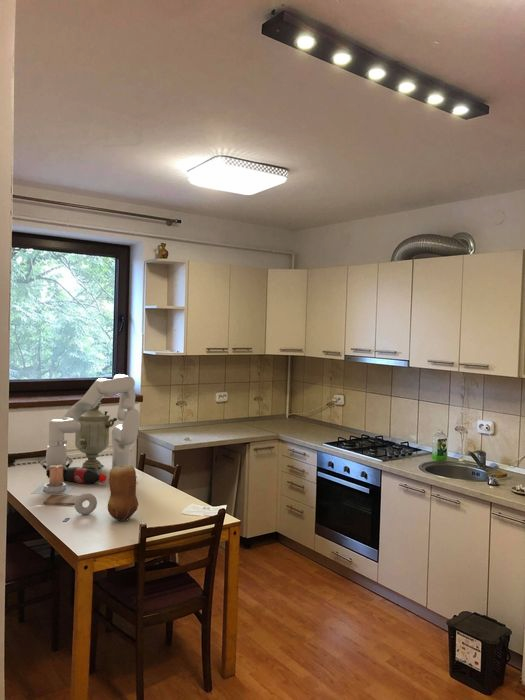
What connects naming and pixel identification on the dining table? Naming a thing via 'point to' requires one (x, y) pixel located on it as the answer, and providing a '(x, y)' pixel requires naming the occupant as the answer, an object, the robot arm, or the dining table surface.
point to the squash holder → (54, 488)
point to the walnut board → (61, 500)
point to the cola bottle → (83, 475)
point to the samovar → (93, 435)
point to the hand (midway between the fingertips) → (56, 476)
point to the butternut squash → (122, 492)
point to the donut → (84, 497)
